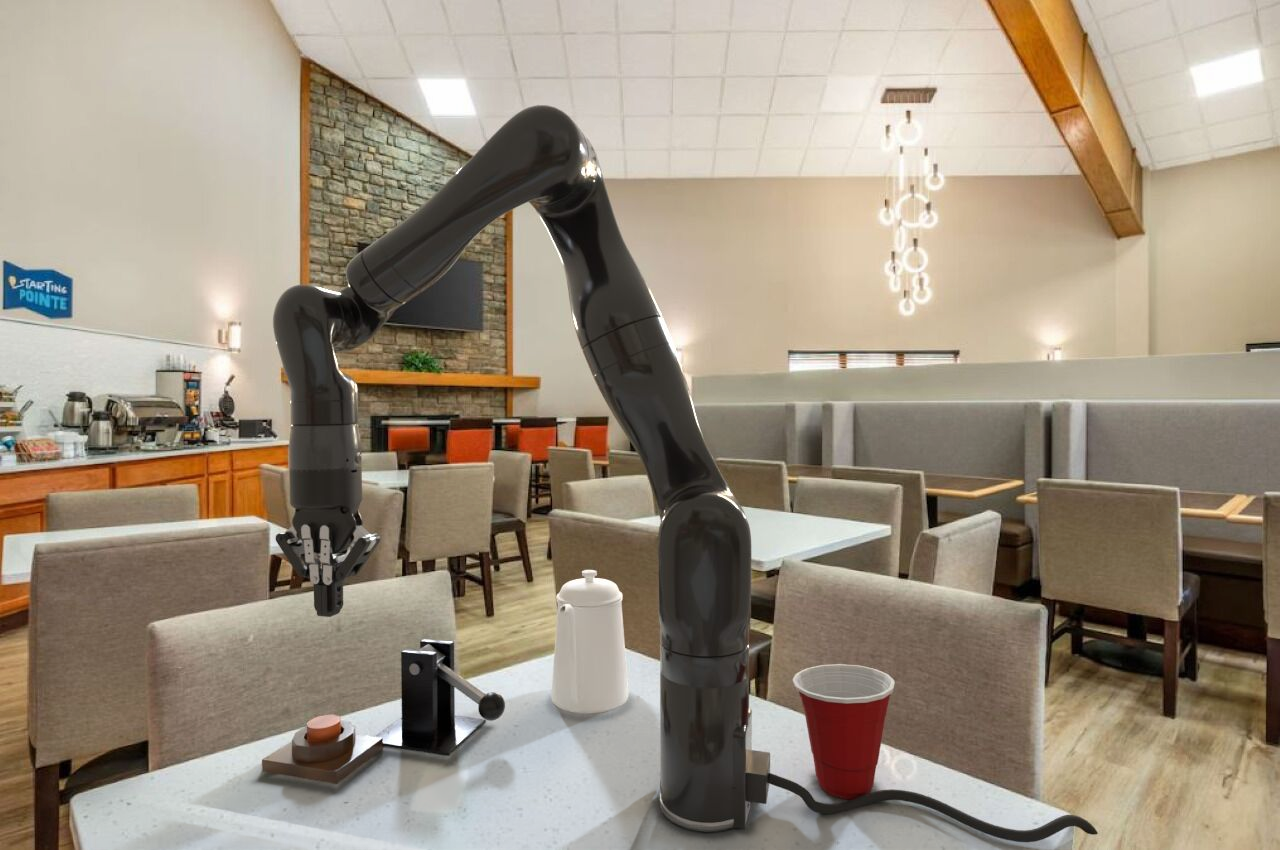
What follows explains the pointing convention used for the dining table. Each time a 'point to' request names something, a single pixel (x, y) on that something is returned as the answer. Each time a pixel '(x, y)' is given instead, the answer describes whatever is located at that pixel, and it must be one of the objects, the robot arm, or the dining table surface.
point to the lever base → (428, 705)
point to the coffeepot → (589, 647)
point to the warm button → (323, 728)
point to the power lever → (470, 689)
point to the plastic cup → (844, 724)
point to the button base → (323, 755)
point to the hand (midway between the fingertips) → (329, 614)
